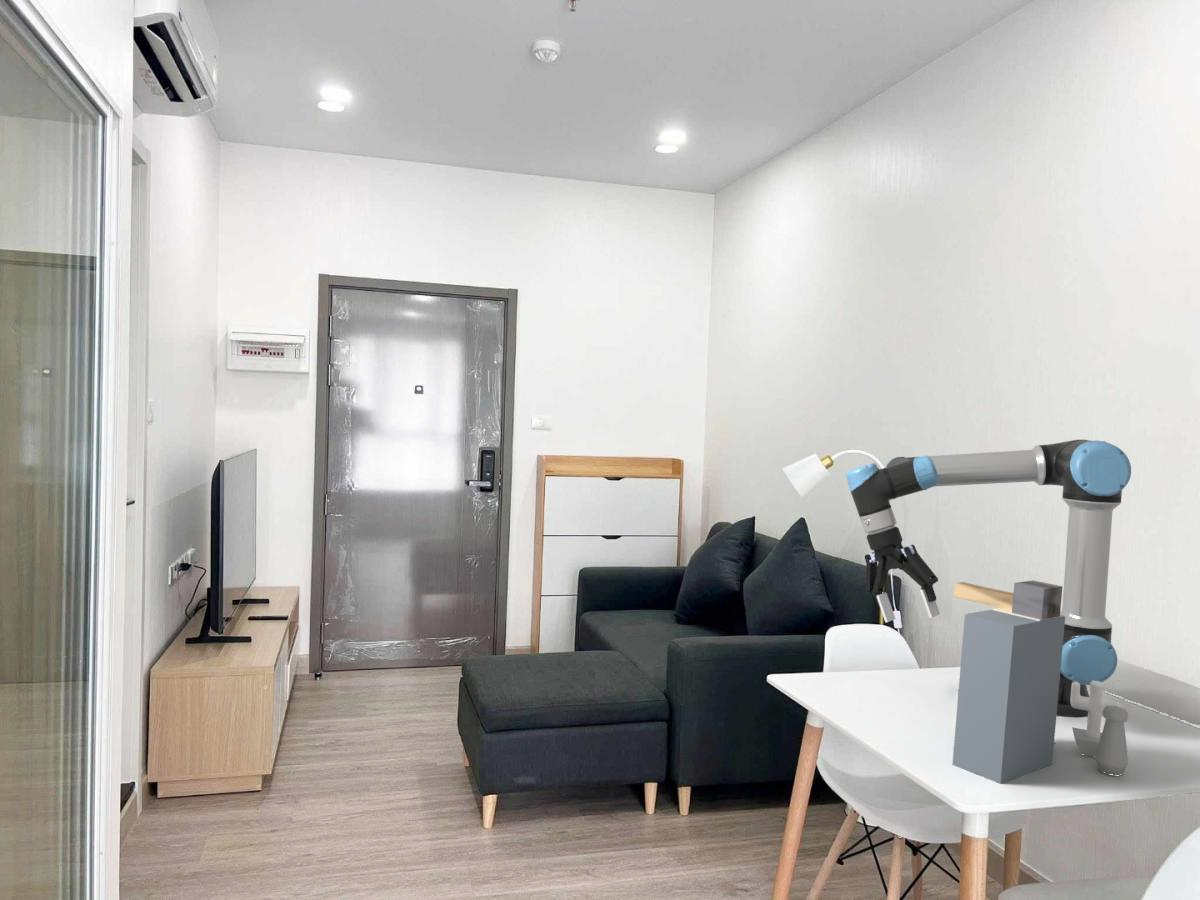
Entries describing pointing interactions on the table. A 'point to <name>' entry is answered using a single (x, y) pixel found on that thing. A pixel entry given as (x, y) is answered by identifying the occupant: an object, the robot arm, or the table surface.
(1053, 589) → the hammer
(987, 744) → the tall grey pillar
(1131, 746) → the table surface
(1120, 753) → the salt shaker
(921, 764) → the table surface
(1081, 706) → the figurine
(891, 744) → the table surface
